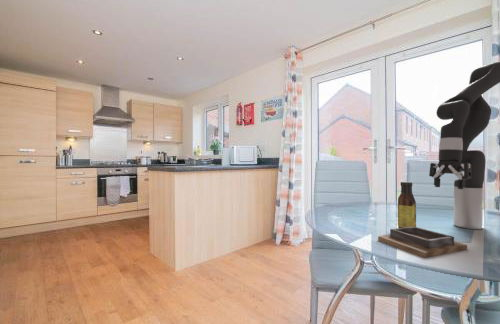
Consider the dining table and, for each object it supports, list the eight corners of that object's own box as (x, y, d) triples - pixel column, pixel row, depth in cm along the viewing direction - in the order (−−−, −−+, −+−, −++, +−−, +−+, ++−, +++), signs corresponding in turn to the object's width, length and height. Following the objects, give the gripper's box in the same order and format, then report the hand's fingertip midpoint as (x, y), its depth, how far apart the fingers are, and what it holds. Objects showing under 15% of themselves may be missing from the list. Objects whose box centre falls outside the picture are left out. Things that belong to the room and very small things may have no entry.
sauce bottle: (419, 233, 92) (419, 183, 92) (401, 232, 93) (402, 182, 93) (411, 229, 99) (411, 181, 98) (394, 228, 100) (395, 181, 100)
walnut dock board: (417, 234, 91) (417, 224, 91) (467, 249, 76) (467, 237, 76) (378, 240, 84) (378, 229, 84) (424, 257, 69) (424, 244, 69)
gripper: (477, 149, 93) (475, 190, 93) (438, 150, 107) (436, 186, 106) (465, 147, 91) (462, 189, 90) (426, 149, 104) (424, 186, 104)
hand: (448, 188), depth 98 cm, fingers open, 8 cm apart
